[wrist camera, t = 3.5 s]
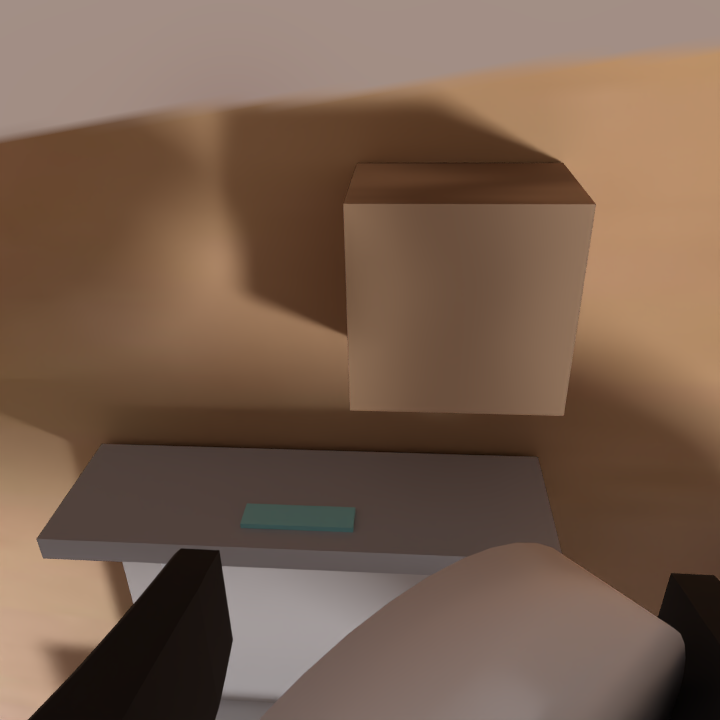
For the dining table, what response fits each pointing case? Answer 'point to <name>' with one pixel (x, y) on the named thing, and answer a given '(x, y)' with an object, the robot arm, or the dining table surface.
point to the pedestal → (464, 286)
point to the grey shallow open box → (295, 536)
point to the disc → (498, 650)
